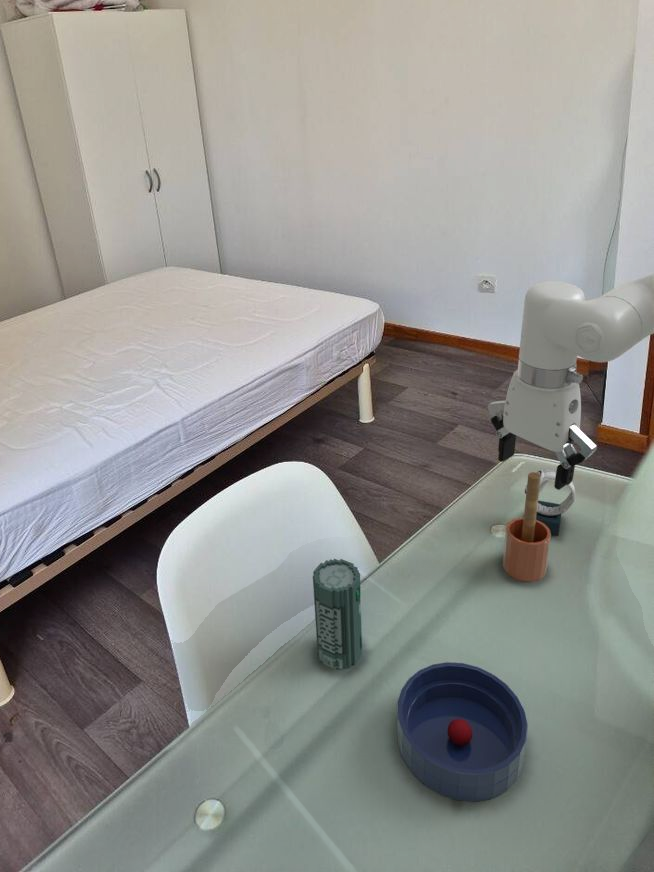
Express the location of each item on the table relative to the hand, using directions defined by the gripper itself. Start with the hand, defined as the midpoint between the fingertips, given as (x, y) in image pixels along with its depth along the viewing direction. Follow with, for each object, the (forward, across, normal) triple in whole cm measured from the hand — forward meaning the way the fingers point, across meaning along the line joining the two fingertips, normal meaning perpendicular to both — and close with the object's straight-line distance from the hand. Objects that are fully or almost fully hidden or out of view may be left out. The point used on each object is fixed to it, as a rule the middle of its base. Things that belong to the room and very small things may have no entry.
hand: (533, 471), depth 104 cm
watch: (+19, +4, -12) cm, 23 cm away
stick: (+19, 0, 0) cm, 19 cm away
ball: (+18, -14, +32) cm, 39 cm away
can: (+20, +6, +34) cm, 40 cm away
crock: (+19, 0, 0) cm, 19 cm away
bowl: (+19, -14, +32) cm, 40 cm away
